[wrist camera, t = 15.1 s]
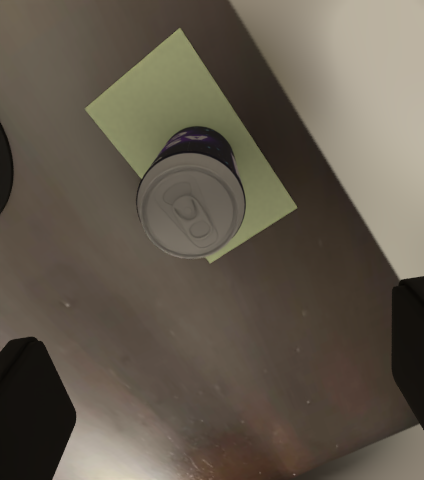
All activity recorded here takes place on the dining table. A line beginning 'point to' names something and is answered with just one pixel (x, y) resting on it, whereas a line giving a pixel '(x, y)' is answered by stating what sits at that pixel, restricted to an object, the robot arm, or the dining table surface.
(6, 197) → the phone display stand
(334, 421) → the dining table surface
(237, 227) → the beverage can
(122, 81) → the side mat
